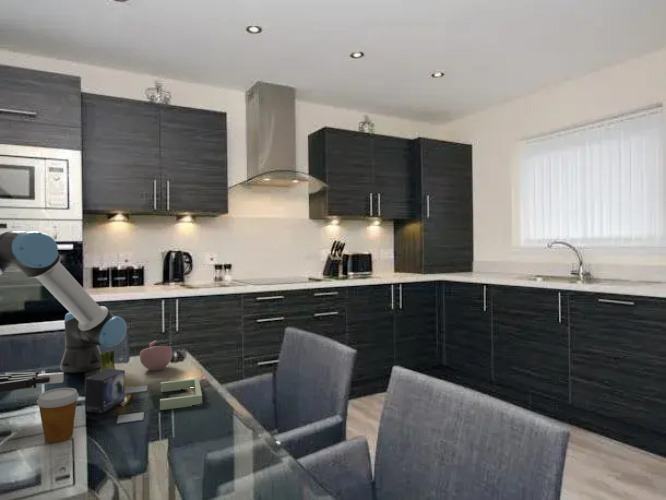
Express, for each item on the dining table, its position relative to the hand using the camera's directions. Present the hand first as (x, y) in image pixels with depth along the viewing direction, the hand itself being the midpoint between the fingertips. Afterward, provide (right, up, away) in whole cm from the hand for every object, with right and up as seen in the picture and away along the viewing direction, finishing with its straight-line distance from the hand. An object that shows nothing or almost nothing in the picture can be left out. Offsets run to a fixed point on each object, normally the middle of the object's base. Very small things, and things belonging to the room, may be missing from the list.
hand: (62, 377), depth 133 cm
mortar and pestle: (+12, -9, +42) cm, 44 cm away
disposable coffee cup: (+9, -12, -16) cm, 22 cm away
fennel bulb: (+1, -10, +25) cm, 27 cm away
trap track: (+26, -10, +11) cm, 30 cm away
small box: (+10, -11, +5) cm, 16 cm away
